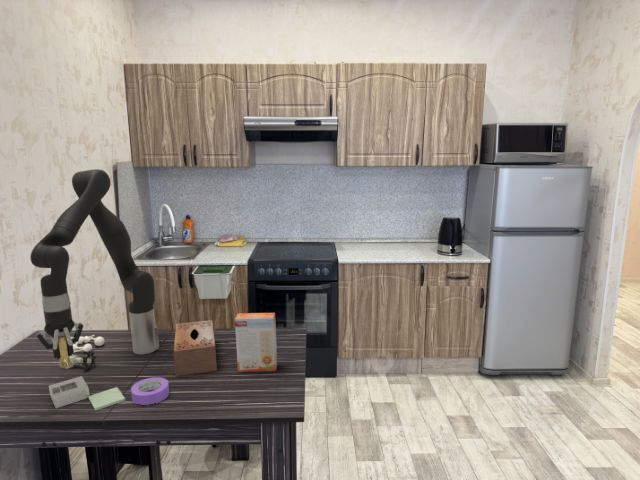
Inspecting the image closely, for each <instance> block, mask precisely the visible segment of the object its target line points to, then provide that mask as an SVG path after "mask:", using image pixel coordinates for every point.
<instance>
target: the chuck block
mask: <svg viewBox="0 0 640 480" xmlns="http://www.w3.org/2000/svg"><path fill="white" fill-rule="evenodd" d="M48 390H49V396H50V399H51V401H52V403H53V406H54V408H55V409H58V408H62V407H64V406H67V405H71V404H74V403H76V402H79V401H84V400H86V399H89V398H88V396H91V394H90V389H89V386H88V384H87V383H86V381H85V379H84V377H83V376H81V375H80V376H76V377H74V378H70V379H67V380H64V381H61V382H57V383H54V384H53V383H52V384H50V385H48Z"/></svg>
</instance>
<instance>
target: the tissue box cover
mask: <svg viewBox="0 0 640 480" xmlns="http://www.w3.org/2000/svg"><path fill="white" fill-rule="evenodd" d="M173 343H174V345H173V358H174V359H173V360H174V370H175V377H181V376H180V375H182V376H188V375H196V374H202V373H203V374H204V373H209V372H216V371H218V369H217V368H218V367H217V352H216V342H215V333H214V325H213V319H209V320H201V321H192V322H182V323H176V324H175V333H174V342H173ZM195 373H196V374H195Z"/></svg>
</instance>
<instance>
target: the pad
mask: <svg viewBox="0 0 640 480" xmlns="http://www.w3.org/2000/svg"><path fill="white" fill-rule="evenodd" d="M87 399H88V400H89V402H90V403H91V404H90V405H92V406H91V407H93V409H94V411H98V410H102V409H104V408H107V407H110V406H113V405H116V404H118V403H122V402H125V401H126V397H124V395H123V393H122V392H121V390H120V389H119V388H118V386H116V387H113V388H110V389H106V390H104V391H101V392H97V393H94V394H90V396H88V398H87Z"/></svg>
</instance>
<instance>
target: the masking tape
mask: <svg viewBox="0 0 640 480" xmlns="http://www.w3.org/2000/svg"><path fill="white" fill-rule="evenodd" d="M169 384H170V383H169V380H168V379H167V378H165V377H157V376H156V377H153V376H152V377H148V378H145V379H141V380H139V381H137V382H136V383H134V384H133V385H132V386H131V387H130V388H131V389H130V394H131V402H132V403H133V402H134V403H136V404H141V405H147V406H150V405H149V404H153V405H155V404H154V403H156V404H159V403H161V402H163V401H164V400H166V399H167V398H168V397H169V396H170V385H169ZM151 390H152V391H151ZM158 402H159V403H158ZM134 403H133V404H134ZM136 404H135V405H136ZM141 405H140V406H141Z"/></svg>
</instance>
